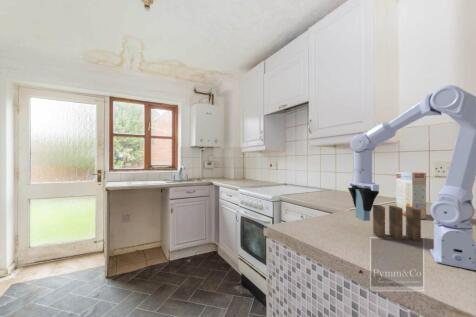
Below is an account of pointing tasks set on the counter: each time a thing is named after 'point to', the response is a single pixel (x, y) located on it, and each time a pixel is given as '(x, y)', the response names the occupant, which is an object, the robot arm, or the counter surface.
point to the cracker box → (411, 191)
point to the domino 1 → (361, 208)
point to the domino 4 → (413, 223)
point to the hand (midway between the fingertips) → (362, 209)
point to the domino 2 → (379, 221)
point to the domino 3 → (396, 222)
